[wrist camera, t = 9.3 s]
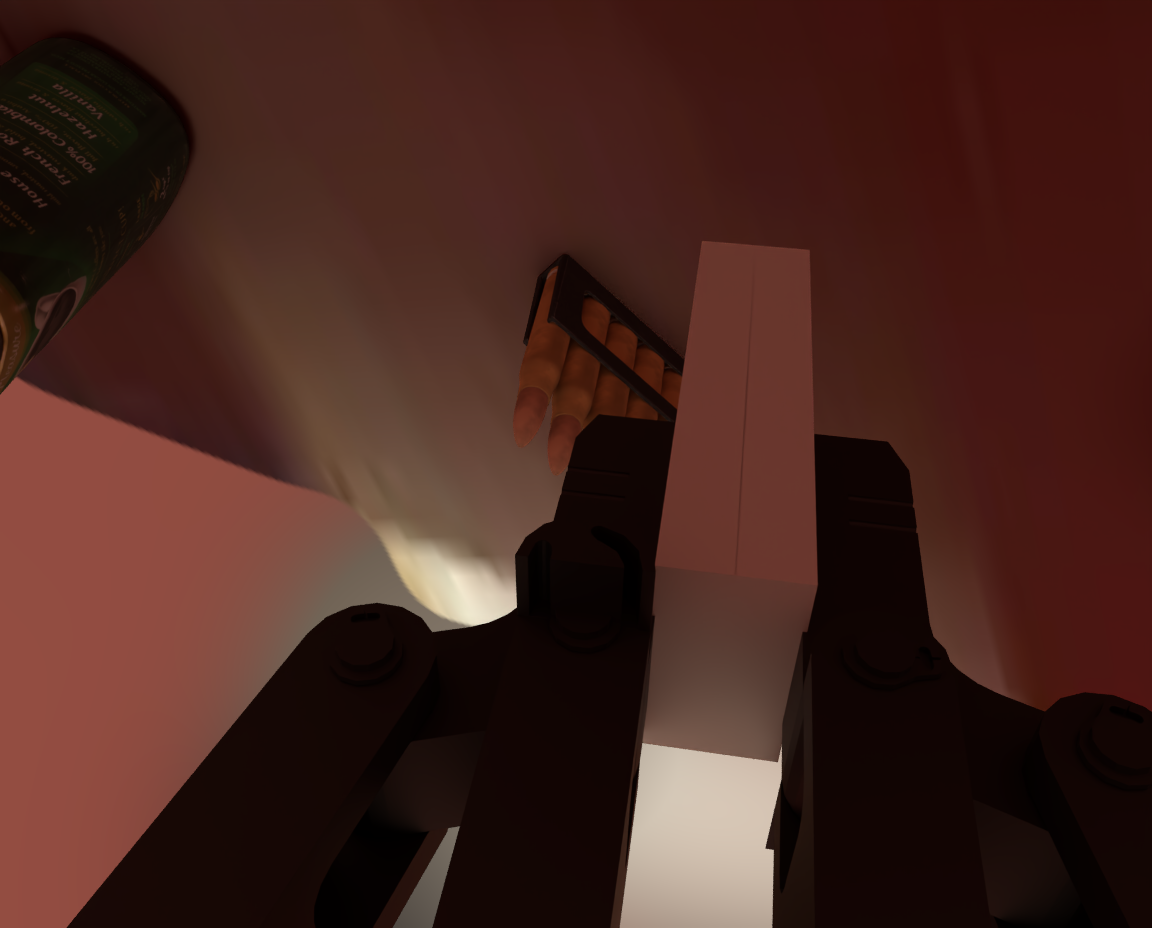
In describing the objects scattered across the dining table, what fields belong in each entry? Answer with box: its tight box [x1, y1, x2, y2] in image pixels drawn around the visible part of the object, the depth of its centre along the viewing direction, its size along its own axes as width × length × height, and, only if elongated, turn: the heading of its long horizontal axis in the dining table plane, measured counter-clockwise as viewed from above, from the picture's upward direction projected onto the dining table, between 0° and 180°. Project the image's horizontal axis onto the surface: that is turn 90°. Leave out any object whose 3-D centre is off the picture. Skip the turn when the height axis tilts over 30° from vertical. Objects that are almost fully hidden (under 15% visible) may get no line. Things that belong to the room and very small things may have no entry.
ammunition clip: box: [513, 255, 685, 475], centre depth 44 cm, size 11×2×12 cm, turn 47°
